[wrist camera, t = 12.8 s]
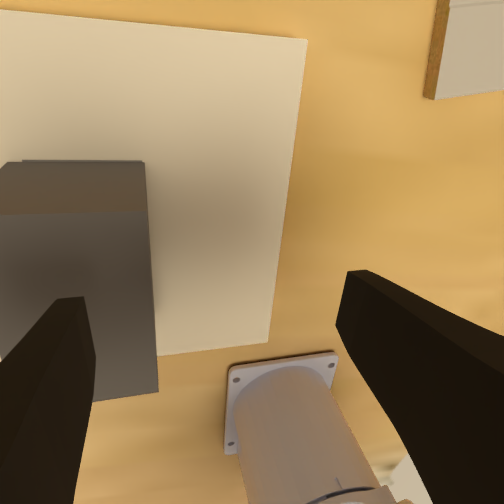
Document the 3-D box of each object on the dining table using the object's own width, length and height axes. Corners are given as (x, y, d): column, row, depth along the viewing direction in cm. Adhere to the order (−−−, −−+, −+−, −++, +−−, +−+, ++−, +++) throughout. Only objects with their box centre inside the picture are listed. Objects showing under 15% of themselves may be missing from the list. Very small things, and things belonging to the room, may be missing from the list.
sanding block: (154, 314, 19) (158, 392, 15) (48, 324, 18) (20, 413, 14) (144, 162, 15) (146, 211, 11) (7, 161, 14) (-50, 216, 10)
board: (260, 326, 24) (267, 342, 22) (-74, 364, 19) (-90, 388, 18) (294, 38, 16) (308, 39, 14) (-263, -16, 11) (-316, -22, 10)
